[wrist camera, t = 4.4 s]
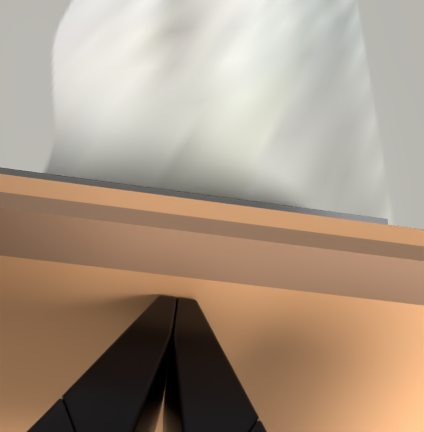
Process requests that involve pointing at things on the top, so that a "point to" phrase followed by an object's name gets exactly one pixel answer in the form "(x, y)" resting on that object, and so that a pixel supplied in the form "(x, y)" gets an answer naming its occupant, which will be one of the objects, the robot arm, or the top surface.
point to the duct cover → (214, 301)
